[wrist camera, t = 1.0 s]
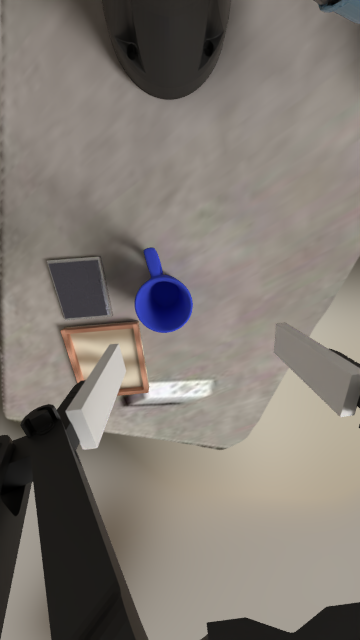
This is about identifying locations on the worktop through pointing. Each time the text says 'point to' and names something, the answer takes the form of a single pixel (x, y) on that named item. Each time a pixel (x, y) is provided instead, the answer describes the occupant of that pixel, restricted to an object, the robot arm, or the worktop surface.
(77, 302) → the ink pad
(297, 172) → the worktop surface
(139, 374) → the sand box
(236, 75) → the worktop surface
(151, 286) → the mug
